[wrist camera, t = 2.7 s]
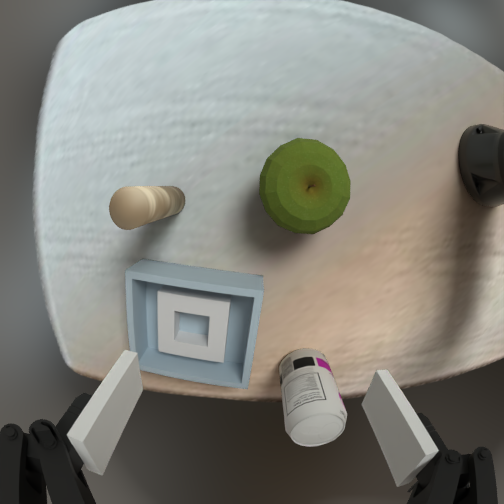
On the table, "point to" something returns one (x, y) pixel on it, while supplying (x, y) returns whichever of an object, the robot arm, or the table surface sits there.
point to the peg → (144, 205)
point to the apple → (304, 186)
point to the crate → (193, 321)
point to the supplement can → (310, 398)
